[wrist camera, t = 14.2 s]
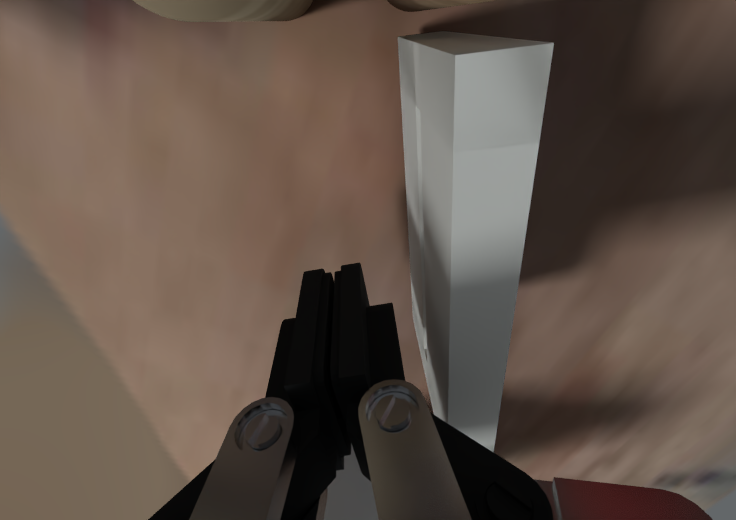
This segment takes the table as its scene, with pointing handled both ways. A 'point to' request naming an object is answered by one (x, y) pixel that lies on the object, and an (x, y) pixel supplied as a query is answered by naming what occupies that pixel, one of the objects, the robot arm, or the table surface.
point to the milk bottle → (350, 494)
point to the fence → (264, 8)
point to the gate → (469, 208)
